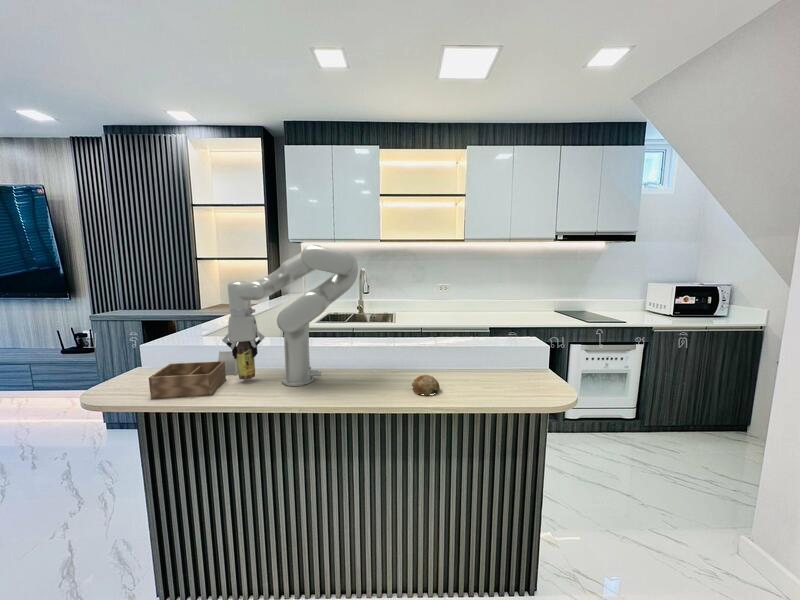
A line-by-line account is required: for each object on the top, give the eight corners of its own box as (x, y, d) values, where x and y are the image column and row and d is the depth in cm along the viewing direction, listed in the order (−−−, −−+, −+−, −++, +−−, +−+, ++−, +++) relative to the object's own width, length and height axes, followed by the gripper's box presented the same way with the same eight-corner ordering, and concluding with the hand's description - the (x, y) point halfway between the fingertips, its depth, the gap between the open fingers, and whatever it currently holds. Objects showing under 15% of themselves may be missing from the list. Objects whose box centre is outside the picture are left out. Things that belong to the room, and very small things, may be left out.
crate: (226, 380, 136) (224, 361, 135) (212, 395, 121) (210, 374, 120) (172, 382, 132) (170, 363, 131) (150, 399, 118) (148, 377, 117)
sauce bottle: (249, 380, 130) (244, 331, 127) (235, 380, 132) (229, 331, 129) (259, 374, 137) (254, 327, 134) (246, 374, 138) (241, 327, 135)
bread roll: (423, 407, 122) (431, 391, 118) (404, 388, 127) (411, 372, 124) (439, 398, 129) (447, 383, 125) (420, 381, 134) (428, 366, 131)
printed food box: (235, 375, 141) (233, 352, 139) (218, 375, 140) (217, 352, 139) (238, 372, 145) (237, 350, 143) (222, 372, 144) (221, 350, 143)
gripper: (266, 309, 135) (270, 352, 138) (220, 312, 132) (225, 355, 135) (262, 313, 128) (266, 358, 131) (213, 316, 125) (218, 361, 128)
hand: (245, 356), depth 133 cm, fingers closed on sauce bottle, 6 cm apart
